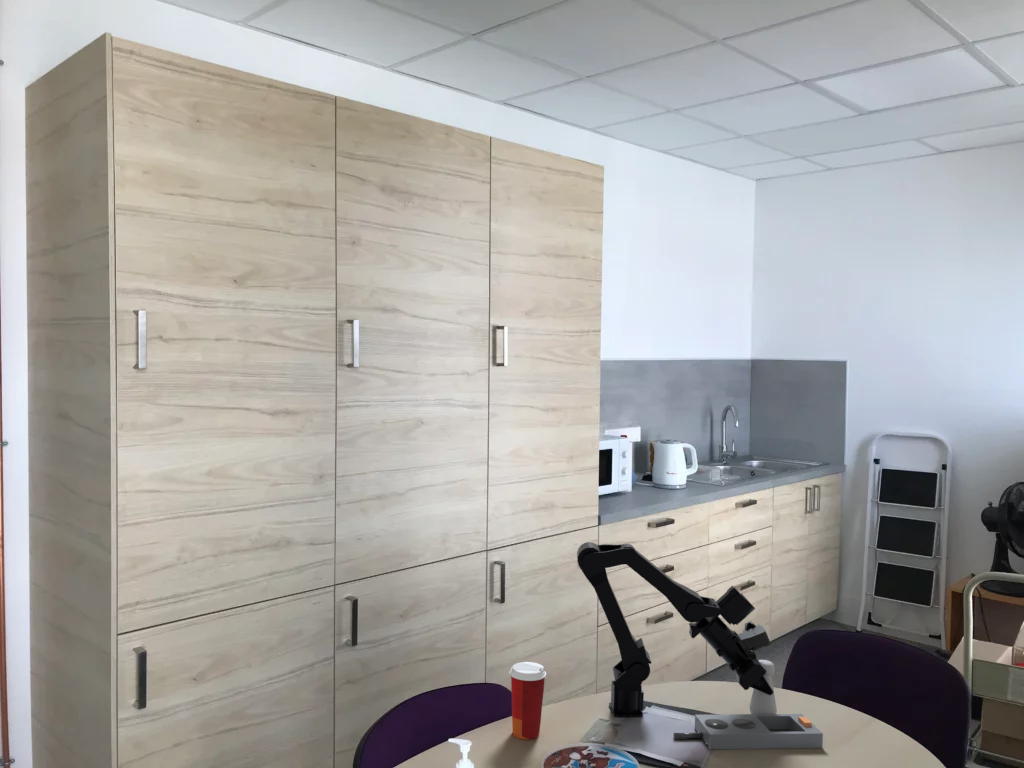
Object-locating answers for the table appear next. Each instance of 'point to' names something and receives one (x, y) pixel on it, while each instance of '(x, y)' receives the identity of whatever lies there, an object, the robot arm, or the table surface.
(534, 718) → the paper cup
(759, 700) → the salt shaker
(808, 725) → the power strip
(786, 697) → the table surface
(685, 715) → the table surface
